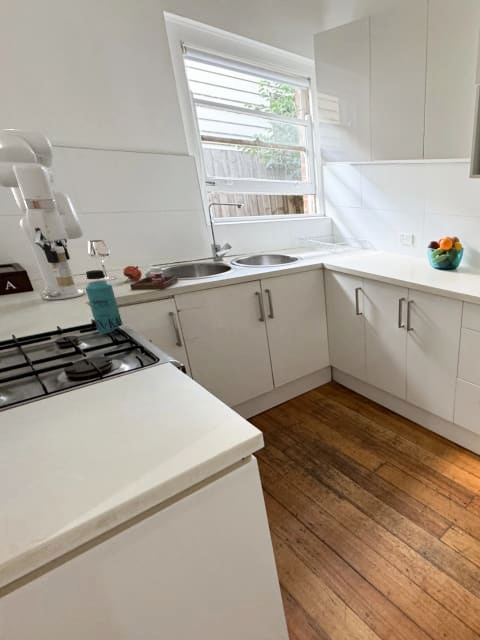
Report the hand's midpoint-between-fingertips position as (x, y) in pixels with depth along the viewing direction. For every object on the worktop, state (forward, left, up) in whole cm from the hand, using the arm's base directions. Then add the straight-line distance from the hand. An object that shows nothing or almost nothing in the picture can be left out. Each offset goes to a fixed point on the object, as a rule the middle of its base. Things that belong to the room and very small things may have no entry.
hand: (59, 260), depth 131 cm
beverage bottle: (-28, -25, -18) cm, 42 cm away
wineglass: (+54, +17, -18) cm, 59 cm away
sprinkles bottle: (0, 0, -9) cm, 9 cm away
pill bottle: (+35, -14, -18) cm, 42 cm away
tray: (+38, -11, -18) cm, 43 cm away
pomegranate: (+49, +3, -18) cm, 52 cm away
